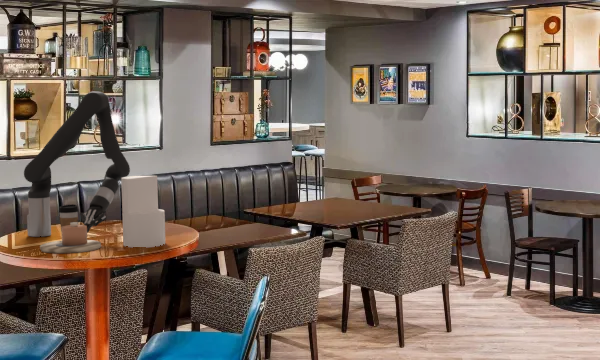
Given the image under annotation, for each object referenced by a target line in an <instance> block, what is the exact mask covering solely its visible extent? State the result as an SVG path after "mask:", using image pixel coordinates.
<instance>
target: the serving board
mask: <svg viewBox="0 0 600 360" xmlns="http://www.w3.org/2000/svg"><path fill="white" fill-rule="evenodd" d="M101 247H102V242H101V241H98V240H94V239H87V244H83V245H74V246H68V245H62V240H55V241H50V242H46V243H42V244H41V245H39V250H41V251H40V252H42V253H47V254H76V253H78V254H79V253H85V252H90V251H95V250H98V249H101Z"/></svg>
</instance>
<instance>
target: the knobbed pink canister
mask: <svg viewBox="0 0 600 360" xmlns="http://www.w3.org/2000/svg"><path fill="white" fill-rule="evenodd" d="M87 240H88V233H87V226H86V225H84V224H79V222H72V223H70V225H68V226H63V227H62V232H61V241H62V245H68V246H74V245H83V244H87Z"/></svg>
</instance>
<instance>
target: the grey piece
mask: <svg viewBox="0 0 600 360" xmlns="http://www.w3.org/2000/svg"><path fill="white" fill-rule="evenodd" d="M120 181H121V205H122V208H121V211H122V214H121V215H122V241H123V243H122V244H123V247H126V246H128V247H127V248H133V247H146V248H155V246H156V247H161V246H164V245H165V244H166V217H165V216H166V214H165V213H166V211H165V210H164V209H161V208H159V192H158V190H159V188H158V175H130V176H129V175H128V176H126V177H122V178H121V180H120ZM163 244H164V245H163ZM160 245H161V246H160Z"/></svg>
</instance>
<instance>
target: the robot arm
mask: <svg viewBox="0 0 600 360" xmlns="http://www.w3.org/2000/svg"><path fill="white" fill-rule="evenodd" d="M109 100H110V99H109V97H108V96H107V94H106V93H104V92H103V91H90V92H88V93H86V94H85V95H84V96H83V98H81V101H80V102H79V104H78V105H77V107H76V108H75V109H74V111H73V112H72V113H71V114H70V116H68V118H67V119H66V120H65V122H64V123H63V124H62V125H61V126H60V127H59V128H58V129H57V131H55V133H54V134H53V135H52V137H51V138H50V139H49V141H47V143H46V144H45V145H44V147H43V148H42V150H41V151H39V153H38V154H37V155H36V156H35V157H34V158H33V159H32V160H31V161H30V162H29V163H28V164H27V165H26V166H25V168H24V170H23V177H24V179H25V180H26V181H27V182H29V183H31V188H30V189H29V190H28V193H27V198H28V200H27V201H28V202H27V203H28V214H27V215H26V224H27V225H26V226H27V236H28V237H34V238H35V237H36V238H39V237H40V236H41V237H42V238H43V237H48V236H51V235H52V224H51V223H52V222H51V221H52V220H51V199H50V198H51V196H50V195H51V191H52V170H51V166H52V164H53V163H55V161H57V160H58V159H60V158H61V157H62V156H64V155H65V154H66V153H67V152H68V151H70V149H72V147H73V146H75V144H76V143H77V142H78V140H79V138H80V137H81V136H82V132H83V130H84V128H85V126H86V124H87V123H88V122H89V121H90V120H91V119H92V117H94V116H96V118H97V121H98V126H99V136H100V137H99V138H100V143H101V146H102V150H103V153H104V156H105V158H106V159H108V160H111V161H112V162H113V163H112V164H111V165H109V166H108V167H107V169H106V172H105V174H104V177H103V181H102V183H101V184H100V186H99V188H98V189H97V191H96V192H95V194H94V195H93V198H92V199H91V201H90V202H89V208H88V209H87V210H86V212H80V218H81V222H82V225H86V226H87V234H88V233H89V231H90V230H91V228H93V227H97V226H99V224H101V223H102V222H104V221H105V220H107V217H106V215H105V213H106V212H107V210H108V209H109V207H110V205H111V203H112V202H113V200H114V197H115V195H116V193H117V191H118V189H119V187H120V185H119V182H118V181H119V180H120V179H121V178H122V177H129V175H130V174H131V173H130V172H131V168H130V163H129V162H128V160H127V159H126V157H125V155H124V154H123V152H122V151H121V147H120V143H119V141H118V138H117V134H116V132H115V128H114V124H113V123H114V122H113V119H112V118H113V117H112V112H111V105H110V101H109Z"/></svg>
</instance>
